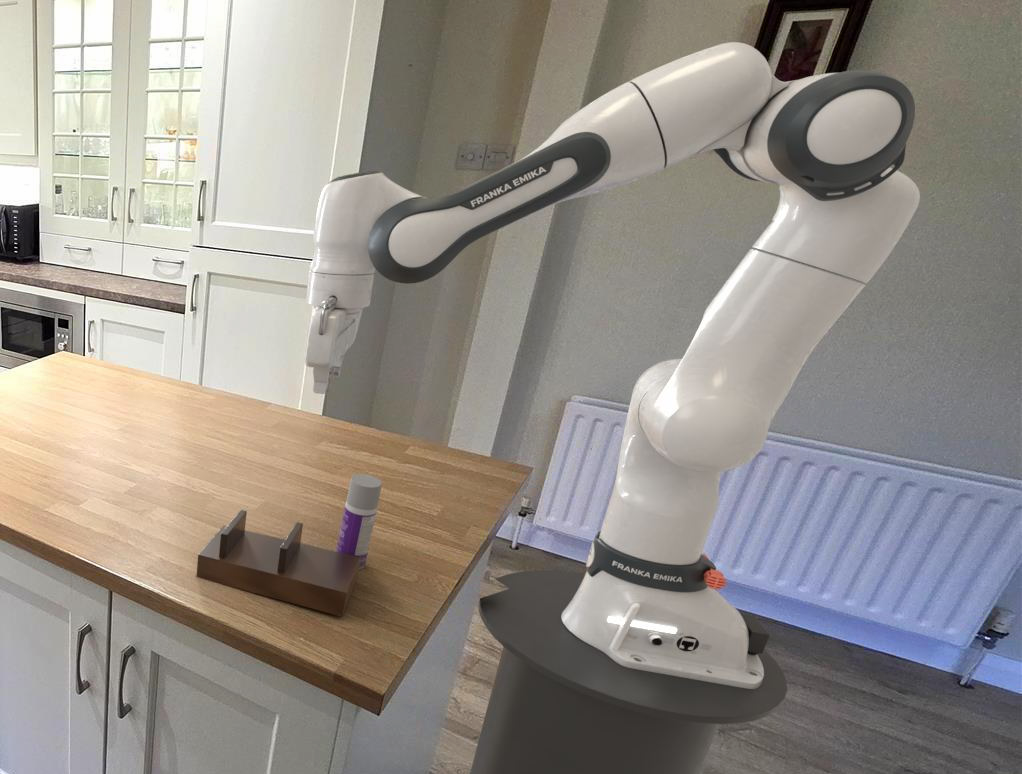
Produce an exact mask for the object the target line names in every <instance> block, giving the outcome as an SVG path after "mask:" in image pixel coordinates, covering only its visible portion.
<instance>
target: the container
mask: <svg viewBox="0 0 1022 774" xmlns="http://www.w3.org/2000/svg"><path fill="white" fill-rule="evenodd" d="M382 484H383V483H382V480H381V479H379V478H378V477H376V476H374V475H371V474H367V473H366V474H365V473H357V474H354V475H352V476H351V478H350V482H349V487H348V491H347V495H346V500H345V504H344V508H343V514H342V520H341V525H340V529H339V530H340V531H339V535H338V539H337V545H336V550H335V551H336V552H340V553H344V554H349V555H353V556H357V557H361V559H360V565H359V571H360V570H363V569H364V568H365V566H366V562H367V558H368V554H369V549H370V545H371V544H370V543H371V540H372V535H373V532H374V531H373V530H374V526H375V521H376V517H377V512H378V507H379V503H380V502H379V501H380V497H381V496H380V495H381V491H382V486H383V485H382Z"/></svg>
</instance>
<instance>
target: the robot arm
mask: <svg viewBox="0 0 1022 774" xmlns="http://www.w3.org/2000/svg"><path fill="white" fill-rule="evenodd" d="M915 117H916V104H915V97H914V96H913V94H912V91H910V89H909V88H908V87H907V86H906V84H904V83H903V82H902V81H901V80H899V79H897V78H896V77H894V76H891V75H889V74H886V73H882V72H878V71H874V70H866V69H855V70H846V71H841V72H827V73H821V74H814V75H810V76H806V77H803V78H799V79H795V80H788V81H782V80H779V79H778V78H777V77H776V76H775V75H774V74H773V73H772V70H771V67H770V64H769V63H768V61H767V58H766V57H765V56H764V55H763V54H762V53H761V52H760V51H759V50H758V49H757V48H755V47H753V46H752V45H749V44H747V43H744V42H737V41H729V42H723V43H719V44H716V45H714V46H711V47H708V48H704V49H701V50H699V51H696V52H693V53H691V54H688V55H685V56H682V57H680V58H678V59H675V60H673V61H670V62H668V63H665V64H663V65H661V66H658V67H656V68H653V69H652V70H649V71H647V72H645V73H643V74H640V75H639V76H637V77H635V78H633V79H631V80H629V81H627V82H624V83H622V84H621V85H618V86H617V87H615V88H613V89H611V90H609V91H608V92H606V93H604V94H603V95H600V96H599V97H598V98H596V99H595V100H593V101H591V102H590V103H588V104H587V105H585V106H584V107H582V108H581V109H579V110H578V111H577V112H575V113H574V114H572V115H570V117H568V118H567V119H565V120H564V121H563V122H562V123H561V124H560V125H559V126H558V127H557V128H556V129H555V130H554V132H553V133H552V134H551V135H550V136H549V137H548V138H547V139H546V140H545V141H543V143H542V144H540V145H539V146H538V147H537V148H535V149H534V150H533V151H532V152H530V153H529V154H527V155H525V156H524V157H522V158H521V159H519V160H517V161H515V162H514V163H511V164H509V165H508V166H506V167H504V168H501V169H500V170H497V171H494V173H493V172H492V174H490V175H488V176H485V177H483V178H481V179H479V180H478V181H476V182H473V183H471V184H469V185H468V186H465V187H463V188H461V189H459V190H457V191H454V192H451V193H448V194H446V195H441V196H438V197H426V196H423V195H421V194H418V193H416V192H413V191H411V190H408V189H407V188H404V187H403V186H401V185H400V184H398V183H396V182H394V181H393V180H392V179H390V178H389V177H387V176H386V175H385V174H384V172H383V171H378V170H368V171H361V172H355V173H350V174H344V175H341V176H336V177H335V178H333V179H332V180H330V181H329V182H327V184H326V185H325V186H324V187H323V189H322V191H321V194H320V197H319V202H318V206H317V210H316V216H315V221H314V229H313V237H312V241H313V247H314V248H313V249H314V252H313V253H314V254H313V258H312V260H311V263H310V265H309V270H308V280H307V287H306V295H305V303H306V304H307V305H310V306H313V313H312V315H311V319H310V323H309V329H308V335H307V341H306V347H305V354H304V363H305V366H306V367H308V368H313V369H312V375H313V387H312V388H313V389H312V391H313V393H314V394H318V395H324V394H326V392H327V391H328V388H329V383H330V380H337V379H338V378H339V377H340V376H341V369H342V365H343V361H344V358H345V355H346V352H347V351H348V350H349V349H350V347H352V346H353V344H354V342H355V340H356V337H357V334H358V330H359V328H360V327H359V326H360V323H361V318H362V314H363V310H364V308H368V307H370V306H371V300H372V293H373V288H374V281H375V280H374V279H375V274H376V271H377V272H378V273H379V274H380V275H381V276H382V277H384V278H385V279H387V280H389V281H391V282H394V283H399V284H407V285H408V284H409V285H410V284H419V283H421V282H424V281H427V280H430V279H432V278H433V277H435V276H437V275H438V274H439V273H441V272H442V271H443V270H445V268H446V267H448V265H450V264H451V263H452V261H454V259H455V258H456V257H457V256H458V255H459V254H460V253H461V252H462V251H464V250H465V249H466V248H467V247H468V246H470V245H471V244H473V243H474V242H477V241H478V240H480V239H482V238H484V237H486V236H488V235H490V234H492V233H494V232H496V231H498V230H501V229H502V228H504V227H507V226H510V225H511V224H513V223H515V222H517V221H519V220H521V219H524V218H525V217H528V216H530V215H532V214H534V213H537V212H539V211H540V210H543V209H545V208H547V207H550V206H552V205H555V204H556V205H557V204H559V203H562V202H566V201H569V200H573V199H577V198H582V197H587V196H591V195H594V194H598V193H602V192H606V191H609V190H613V189H616V188H619V187H622V186H625V185H627V184H628V185H629V184H630V183H633V182H636V181H638V180H641V179H644V178H646V177H649V176H651V175H654V174H656V173H659V172H661V171H662V170H665V169H667V168H669V167H672V166H674V165H676V164H678V163H680V162H682V161H684V160H686V159H688V158H691V157H693V156H696V155H698V154H702V153H705V152H709V151H712V150H713V151H714V152H715V153H716V154H717V155H718V156H719V157H720V159H721V160H722V161H723V162H724V163H725V164H726V166H727V167H729V169H730V170H731V171H733V172H734V173H736V174H737V175H739V176H740V177H743V178H745V179H748V180H751V181H754V182H755V181H756V182H763V183H767V184H770V185H771V184H772V185H779V186H778V189H779V200H778V205H777V208H776V211H775V213H774V215H773V217H772V219H771V222H770V224H768V226H767V227H766V228H765V230H764V231H763V232H762V233H761V234H760V236H759V237H758V238H757V240H756V241H755V242H754V243H753V244H752V246H751V248H749V250H748V251H747V252H746V253H745V255H744V257H743V258H742V259H741V261H740V262H739V263H738V265H737V266H736V267H735V269H734V270H733V271H732V273H731V274H730V275H729V277H728V279H726V281H725V283H724V284H723V285H722V287H721V288H720V289H719V290H718V293H717V294H716V295H715V296H713V297H714V298H712V300H711V302H710V303H709V304H708V306H707V307H706V308H705V310H704V312H703V314H702V315H703V316H702V319H701V321H700V324H699V325H698V328H697V330H696V332H695V334H694V336H693V338H692V340H691V342H690V343H689V346H688V348H687V349H686V351H685V353H684V355H683V357H682V358H681V357H680V358H671V359H666V360H663V361H660V362H658V363H655V364H654V365H651V366H650V367H649V368H647V369H646V370H645V371H643V373H641V375H640V376H639V377H638V379H637V380H636V382H635V384H634V387H633V389H632V393H631V397H630V402H629V407H628V411H627V416H626V420H625V424H624V430H623V434H622V440H621V444H620V445H621V446H620V450H619V451H620V452H619V457H618V463H617V470H616V475H615V481H614V485H613V489H612V492H611V495H610V499H609V502H608V506H607V509H606V512H605V517H604V518H603V522H602V525H601V528H600V529H601V530H599V531H597V533H596V534H595V536H594V539H593V541H592V542H591V546H590V548H589V552H588V555H587V559H586V564H585V566H586V567H585V568H586V569H585V570H586V572H585V573H584V574H585V576H584V579H583V581H582V583H581V585H580V587H579V589H578V590H577V592H576V594H575V596H574V597H573V599H572V600H571V602H570V603H569V605H568V606H567V607H566V608H565V610H564V611H563V612H562V615H561V618H562V621H563V623H564V625H565V626H566V627H567V629H568V630H569V631H570V632H572V633H573V634H574V635H575V636H577V637H578V638H579V639H581V640H583V641H584V642H586V643H588V644H589V645H591V646H593V647H595V648H597V649H599V650H601V651H602V652H604V653H606V654H607V655H608V656H609V657H610V658H612V659H613V660H614V661H615V662H617V663H618V664H620V665H622V666H624V667H627V668H632V669H638V670H643V671H649V672H655V673H661V674H666V675H672V676H678V677H683V678H689V679H695V680H701V681H706V682H712V683H718V684H723V685H729V686H735V687H741V688H746V689H756V688H758V687H759V686H760V685H761V684H762V681H763V677H764V669H763V665H762V663H761V660H760V659H759V657H758V655H757V654H758V653H761V654H762V653H763V651H764V649H765V648H766V646H767V644H768V641H769V639H770V636H771V635H770V633H769V632H768V631H767V630H766V628H765V627H764V626H763V625H762V624H761V622H760V621H759V620H758V619H757V617H756V616H755V615H754V614H749V613H745V612H740V611H739V610H738V609H737V608H736V607H735V606H734V605H733V604H732V603H731V602H730V601H729V600H728V599H726V598H725V597H724V596H723V595H722V594H721V593H720V592H719V591H717V590H721V589H723V588H725V587H726V586H727V579H726V578H725V576H724V574H723V572H721V571H720V570H717V567H716V565H715V563H714V562H713V561H711V560H710V559H709V557H708V556H707V555H706V554H705V552H703V550H704V547H705V544H706V542H707V539H708V537H709V533H710V531H711V528H712V526H713V522H714V520H715V517H716V515H717V512H718V508H719V504H720V483H721V474H722V472H727V471H731V470H734V469H738V468H740V467H741V466H743V465H745V464H747V463H749V462H750V461H751V460H753V459H754V458H755V457H756V456H757V455H758V454H759V453H760V451H761V450H762V449H763V447H764V445H765V444H766V441H767V438H768V433H769V429H770V425H771V424H772V421H773V419H774V418H775V416H776V414H777V412H778V411H779V409H780V408H781V406H782V404H783V403H784V401H785V399H786V397H787V395H788V394H789V392H790V391H791V389H792V387H793V385H794V383H795V381H796V379H797V377H798V376H799V374H800V372H801V370H802V368H803V367H804V365H805V363H806V362H807V360H808V359H809V357H810V355H811V354H812V352H813V351H814V349H815V348H816V347H817V346H818V344H819V342H820V341H821V340H822V339H823V338H824V336H825V335H826V334H827V333H828V332H829V330H830V329H831V328H832V327H833V325H834V324H835V323H836V322H837V321H838V319H839V318H840V317H841V316H842V314H843V313H844V312H845V311H846V310H847V309H848V307H849V306H850V305H851V304H852V302H853V301H854V300H855V299H856V298H857V296H858V295H859V294H860V293H861V291H863V289H864V288H865V287H866V284H868V283H869V282H870V281H871V279H872V278H873V277H874V276H875V274H877V272H878V271H879V270H880V268H881V267H882V265H883V264H884V263H885V261H886V260H887V259H888V257H889V256H890V254H891V253H892V251H893V250H894V249H895V247H896V245H897V243H898V242H899V240H900V239H901V237H902V236H903V234H904V232H905V231H906V229H907V227H908V226H909V224H910V222H911V220H912V218H913V216H914V214H915V212H916V211H917V209H918V207H919V204H920V199H921V193H920V190H919V187H918V186H917V184H916V182H914V181H913V180H912V179H911V177H909V176H908V175H906V174H905V173H903V172H901V171H900V170H899V169H900V168H901V167H902V165H903V164H904V161H905V158H906V149H907V142H908V140H909V138H910V135H911V132H912V129H913V127H914V123H915ZM891 166H894V167H893V168H892V167H891Z"/></svg>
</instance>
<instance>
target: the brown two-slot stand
mask: <svg viewBox="0 0 1022 774" xmlns="http://www.w3.org/2000/svg"><path fill="white" fill-rule="evenodd" d="M247 514H248V511H247V510H244V509H240V510H239V512H237V513H236V515H235V516H234V517H233V518H232V520H231V521H230V522H229V523H228V525H224V524H223V525H222V526H221V527H220V528H219V529H218V530H217V532H216V533H215V534H214V535H213V536H212V538H211V539H210V540H209V541H208V542H207V543H206V544H205V546H204V547H203V548H202V550H201V551H200V552H199V553H198V555H197V564H196V565H197V566H196V575H195V577H196V578H199V579H203V580H205V581H209V582H212V583H217V584H221V585H223V586H228V587H232V588H236V589H238V590H241V591H247V592H250V593H253V594H256V595H257V594H258V595H260V596H265V597H268V598H272V599H275V600H280V601H283V602H286V603H291V604H294V605H297V606H302V607H305V608H309V609H313V610H316V611H320V612H323V613H327V614H331V615H334V616H338V617H343V615H344V613H345V611H346V608H347V607H348V603H349V601H350V598H351V596H352V593H353V590H354V588H355V586H356V583H357V581H358V577H359V571H360V570H359V565H360V559H361V557H357V556H353V555H349V554H344V553H340V552H336V550H331V549H327V548H322V547H320V546H319V547H318V546H314V545H310V544H306V543H302V542H301V541H302V535H303V527H304V523H303V522H299V521H297V522H296V523H295V524H294V526H293V527H292V529H291V530H290V532H289V533H288V535H287V537H286V538H280V537H276V536H271V535H266V534H262V533H258V532H254V531H250V530H246V523H247Z"/></svg>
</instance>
